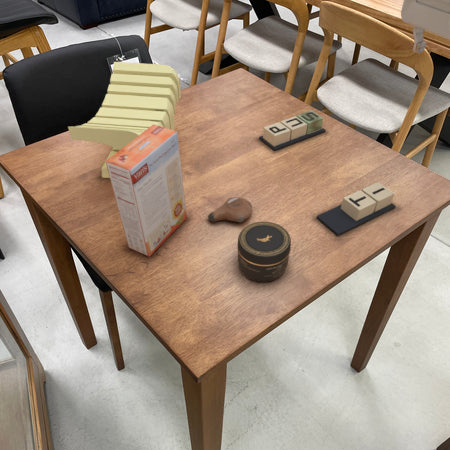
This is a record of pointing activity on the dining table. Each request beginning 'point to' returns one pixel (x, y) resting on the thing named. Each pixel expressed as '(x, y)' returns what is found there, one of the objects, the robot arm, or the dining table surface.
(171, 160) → the cracker box
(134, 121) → the slatted curved stool
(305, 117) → the s tile
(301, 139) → the word back
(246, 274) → the jar
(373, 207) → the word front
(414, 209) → the dining table surface
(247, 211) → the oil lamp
